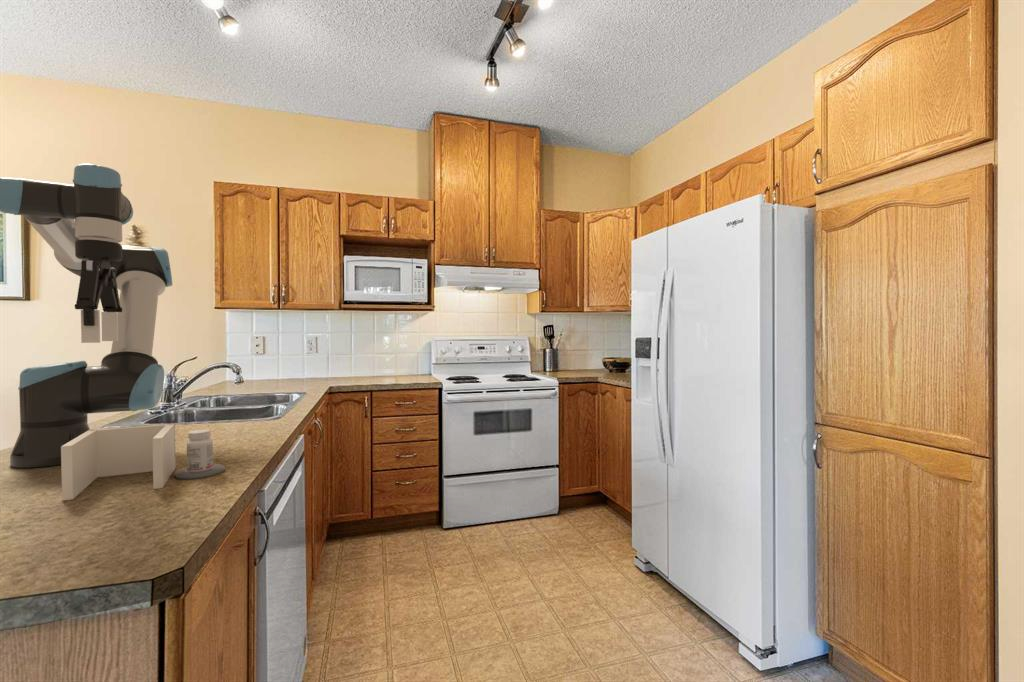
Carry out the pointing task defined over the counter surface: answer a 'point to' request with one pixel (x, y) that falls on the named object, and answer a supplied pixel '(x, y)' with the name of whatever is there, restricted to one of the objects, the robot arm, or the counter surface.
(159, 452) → the cubby
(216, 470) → the coaster
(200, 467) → the pill bottle
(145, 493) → the counter surface
